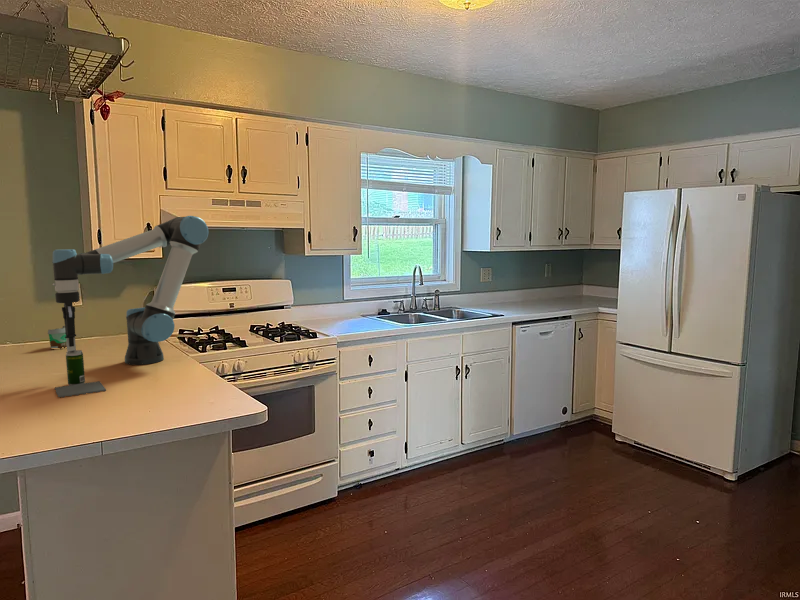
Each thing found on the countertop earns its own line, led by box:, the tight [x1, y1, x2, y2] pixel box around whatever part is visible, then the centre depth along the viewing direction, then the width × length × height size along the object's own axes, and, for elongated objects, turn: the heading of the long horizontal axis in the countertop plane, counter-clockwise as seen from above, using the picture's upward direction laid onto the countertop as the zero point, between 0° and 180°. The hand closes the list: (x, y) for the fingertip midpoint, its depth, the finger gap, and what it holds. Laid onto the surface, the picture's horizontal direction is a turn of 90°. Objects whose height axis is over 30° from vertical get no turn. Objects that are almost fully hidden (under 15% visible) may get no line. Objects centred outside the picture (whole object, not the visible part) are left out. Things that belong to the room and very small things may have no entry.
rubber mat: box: [54, 380, 107, 398], centre depth 193 cm, size 14×14×1 cm
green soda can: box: [65, 349, 86, 386], centre depth 201 cm, size 5×5×12 cm
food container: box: [47, 325, 67, 349], centre depth 269 cm, size 12×6×10 cm, turn 179°
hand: (71, 354), depth 207 cm, fingers closed
